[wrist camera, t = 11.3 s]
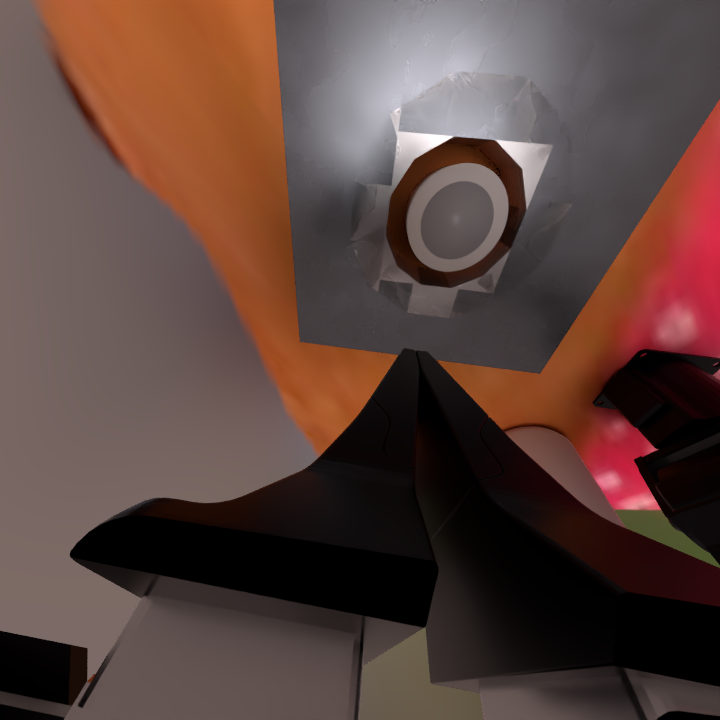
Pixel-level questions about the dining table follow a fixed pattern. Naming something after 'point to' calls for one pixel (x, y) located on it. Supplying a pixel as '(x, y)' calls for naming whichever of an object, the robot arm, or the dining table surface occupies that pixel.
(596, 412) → the dining table surface
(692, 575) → the robot arm
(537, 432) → the alcohol
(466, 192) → the cap
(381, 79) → the dark grey square base
